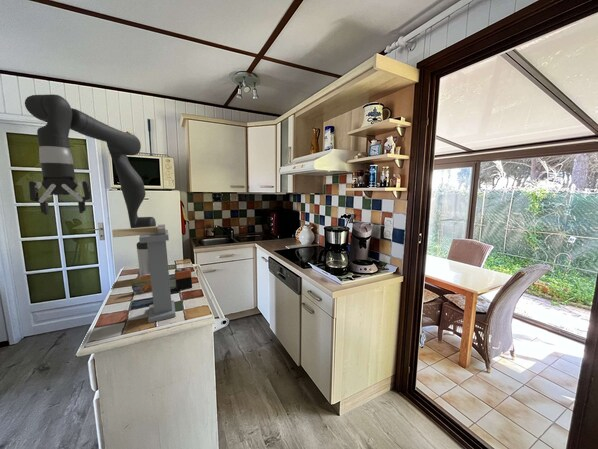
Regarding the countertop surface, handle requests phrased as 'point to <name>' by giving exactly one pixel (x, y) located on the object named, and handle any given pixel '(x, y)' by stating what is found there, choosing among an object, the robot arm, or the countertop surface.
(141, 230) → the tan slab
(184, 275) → the battery
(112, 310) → the countertop surface
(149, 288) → the tin
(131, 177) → the robot arm
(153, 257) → the shelf post
